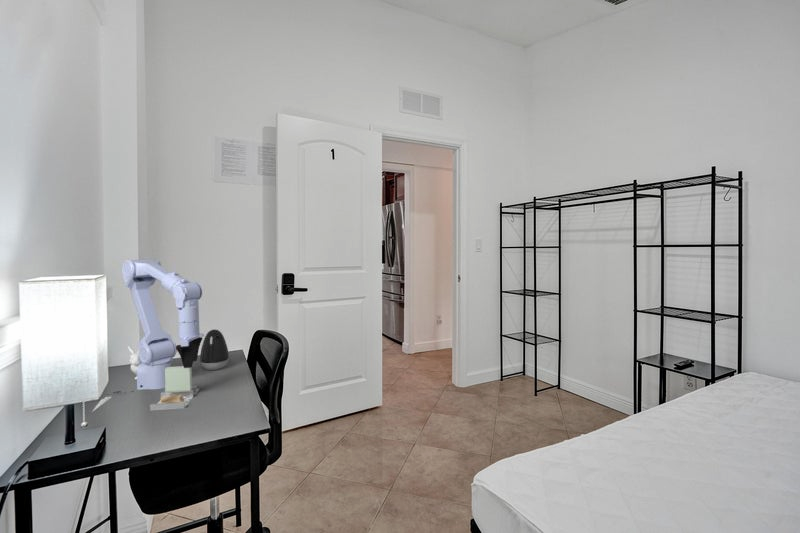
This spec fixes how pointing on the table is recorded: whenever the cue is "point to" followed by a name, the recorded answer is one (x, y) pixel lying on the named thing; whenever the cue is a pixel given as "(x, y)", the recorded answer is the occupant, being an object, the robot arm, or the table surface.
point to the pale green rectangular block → (178, 379)
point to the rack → (185, 394)
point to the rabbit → (134, 360)
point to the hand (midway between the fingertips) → (190, 364)
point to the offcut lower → (173, 402)
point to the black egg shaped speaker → (214, 351)
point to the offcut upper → (171, 398)
